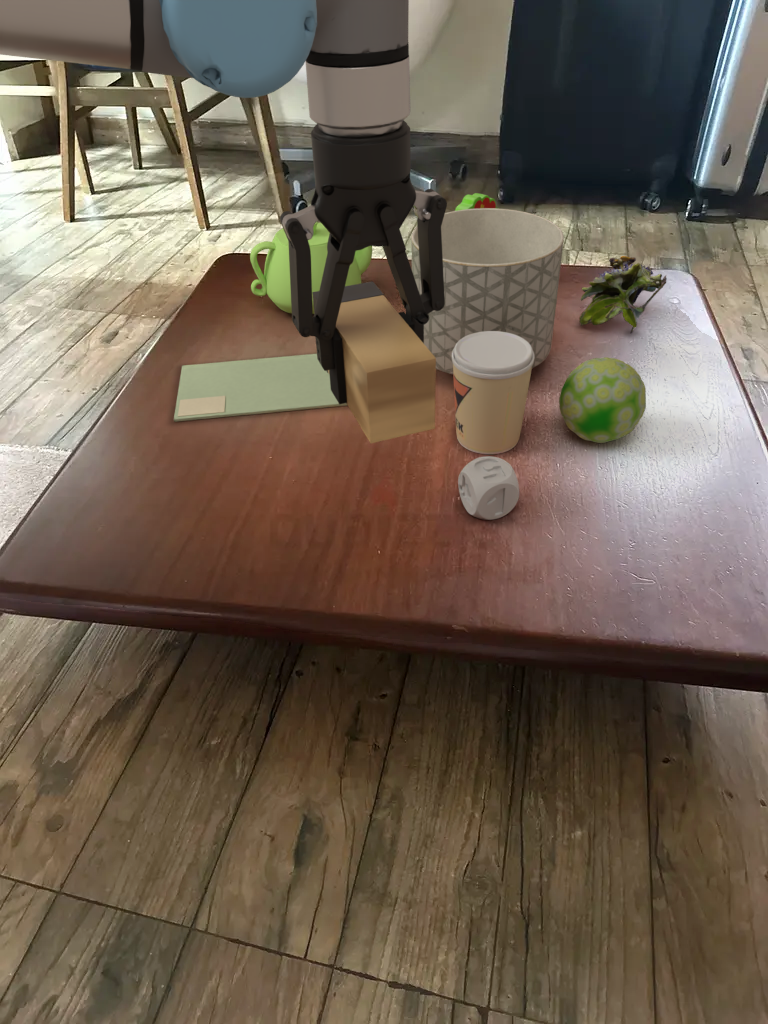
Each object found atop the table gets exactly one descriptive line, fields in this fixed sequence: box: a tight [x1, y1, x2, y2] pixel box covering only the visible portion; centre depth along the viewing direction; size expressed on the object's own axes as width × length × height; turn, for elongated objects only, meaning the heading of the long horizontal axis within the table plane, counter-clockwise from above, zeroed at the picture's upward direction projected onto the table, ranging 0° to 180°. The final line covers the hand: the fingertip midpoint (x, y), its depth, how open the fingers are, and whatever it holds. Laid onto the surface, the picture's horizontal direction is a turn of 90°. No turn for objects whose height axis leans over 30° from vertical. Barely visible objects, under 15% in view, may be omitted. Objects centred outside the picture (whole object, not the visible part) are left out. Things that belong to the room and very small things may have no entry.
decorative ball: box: [558, 356, 647, 444], centre depth 92 cm, size 10×10×10 cm
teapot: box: [249, 221, 373, 315], centre depth 122 cm, size 22×15×13 cm
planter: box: [410, 207, 565, 375], centre depth 104 cm, size 19×19×18 cm
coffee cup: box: [452, 331, 534, 455], centre depth 92 cm, size 9×9×12 cm
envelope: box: [173, 353, 348, 423], centre depth 107 cm, size 24×14×1 cm, turn 97°
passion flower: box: [579, 255, 668, 335], centre depth 115 cm, size 11×11×12 cm
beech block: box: [312, 280, 437, 444], centre depth 71 cm, size 16×6×7 cm, turn 20°
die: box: [457, 455, 520, 521], centre depth 84 cm, size 5×5×5 cm
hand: (372, 388), depth 73 cm, fingers closed on beech block, 6 cm apart
